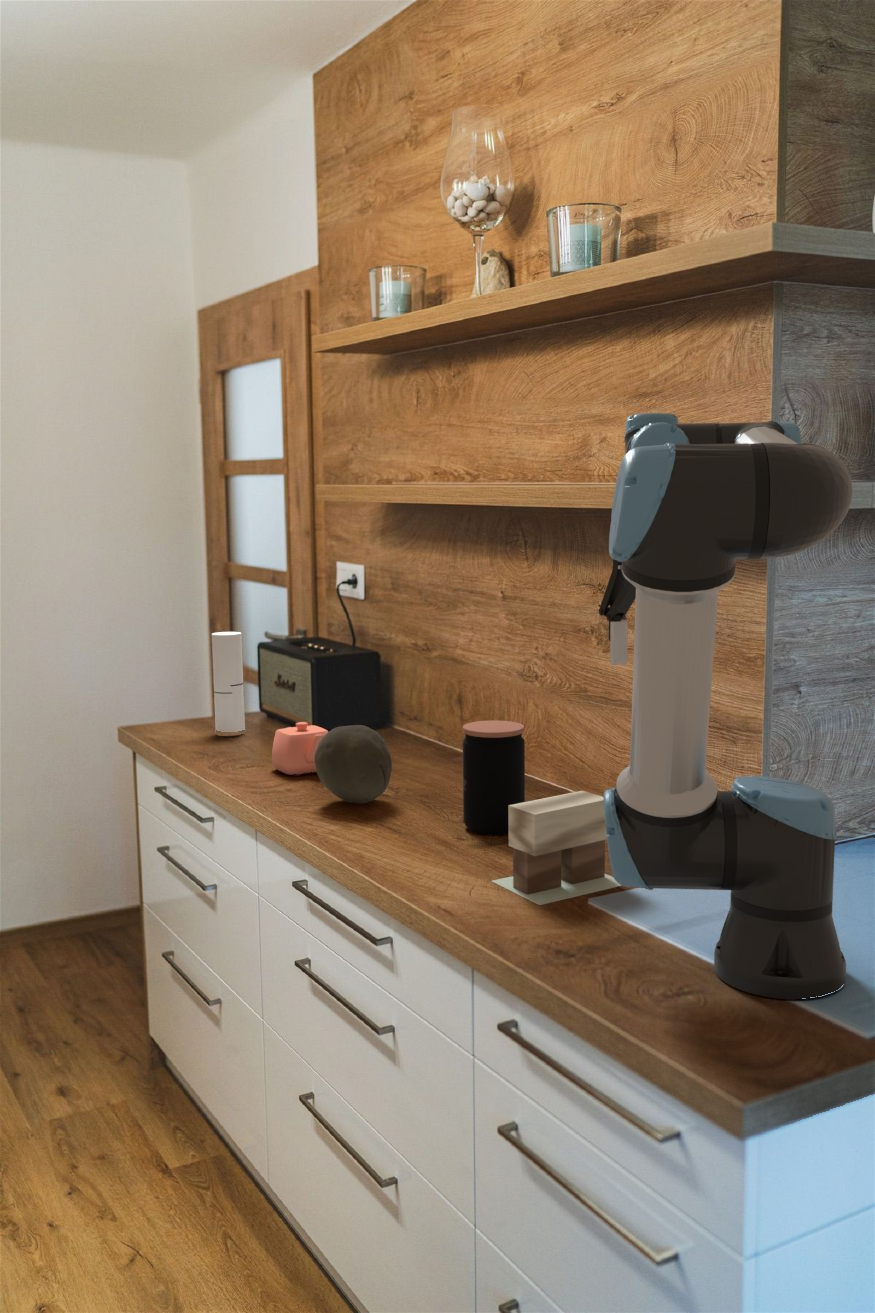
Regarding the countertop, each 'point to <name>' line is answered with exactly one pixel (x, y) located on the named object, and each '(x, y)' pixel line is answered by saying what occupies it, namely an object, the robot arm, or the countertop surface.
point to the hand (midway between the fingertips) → (649, 669)
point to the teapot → (296, 748)
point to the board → (562, 889)
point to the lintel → (556, 823)
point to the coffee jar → (492, 774)
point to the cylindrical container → (228, 681)
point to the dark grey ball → (354, 763)
